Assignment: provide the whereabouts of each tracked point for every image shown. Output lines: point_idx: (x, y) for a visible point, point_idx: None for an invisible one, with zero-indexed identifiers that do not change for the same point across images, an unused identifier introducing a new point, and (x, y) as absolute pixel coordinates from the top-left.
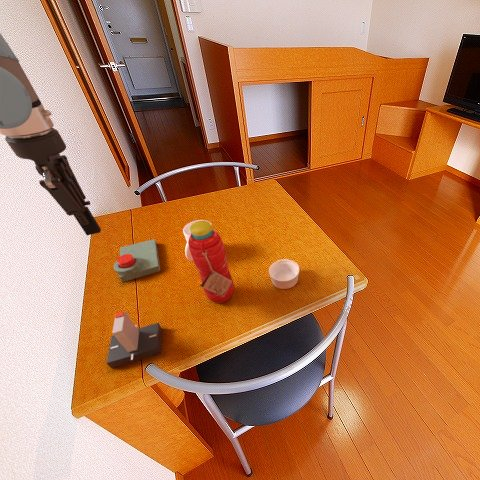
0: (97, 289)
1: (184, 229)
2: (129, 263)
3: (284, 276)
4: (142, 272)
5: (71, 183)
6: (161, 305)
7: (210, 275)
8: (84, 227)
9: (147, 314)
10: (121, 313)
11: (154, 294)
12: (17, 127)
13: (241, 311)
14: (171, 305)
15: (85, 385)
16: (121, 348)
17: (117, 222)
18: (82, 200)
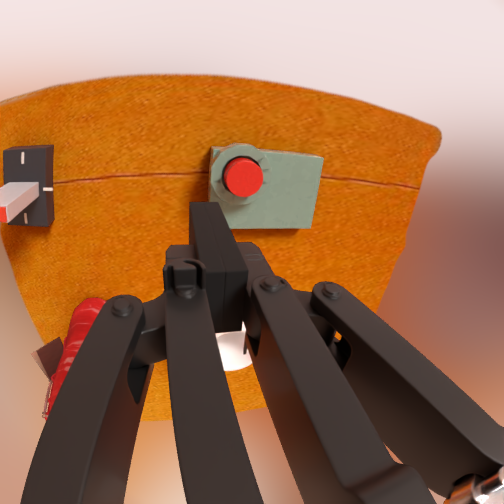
0: (216, 96)
1: (244, 330)
2: (226, 184)
3: None
4: (209, 193)
5: (295, 478)
6: (104, 219)
7: (45, 374)
8: (192, 228)
9: (91, 194)
10: (3, 218)
11: (139, 207)
12: None
13: (63, 325)
14: (98, 236)
15: (3, 114)
16: (17, 169)
17: (412, 161)
18: (252, 361)
